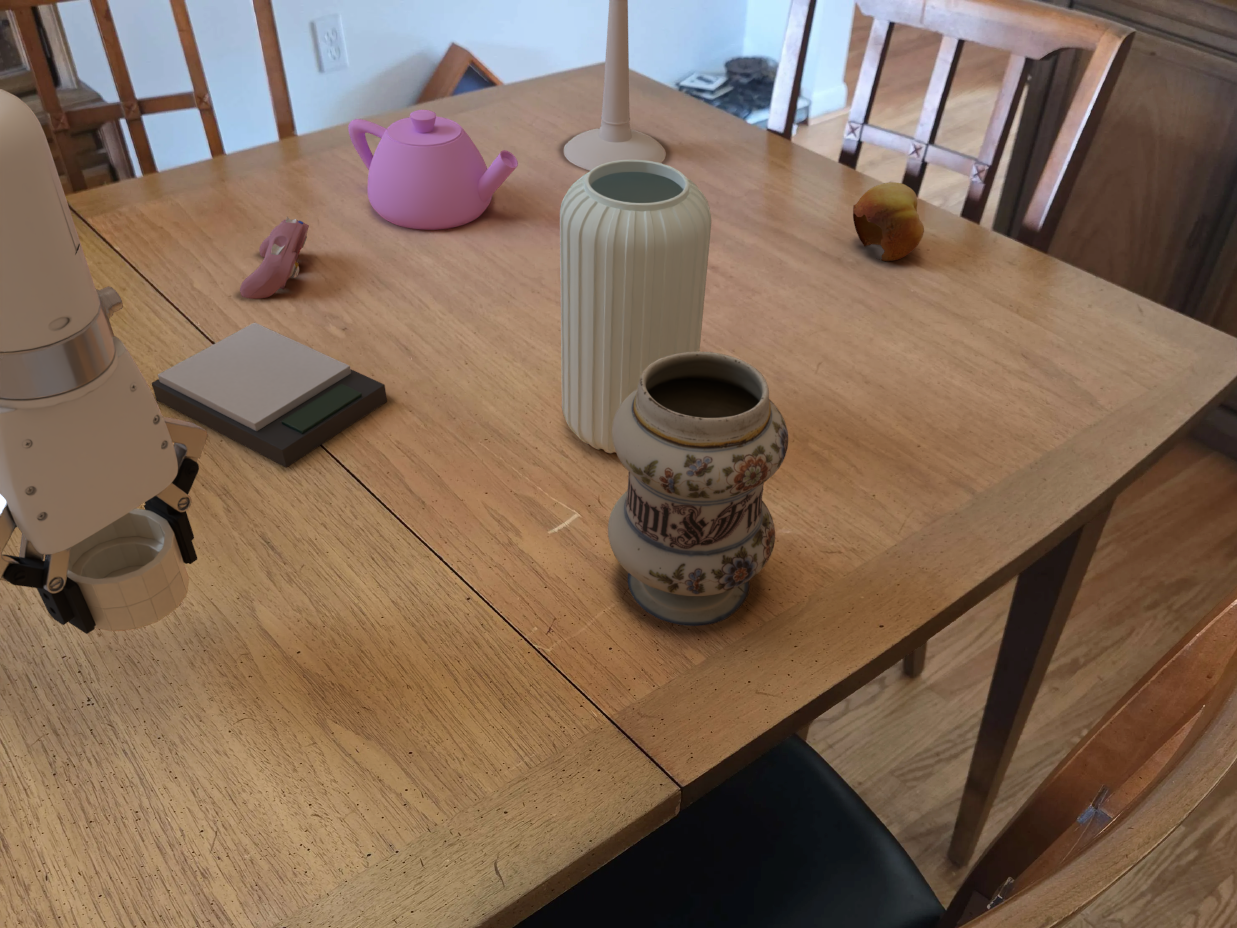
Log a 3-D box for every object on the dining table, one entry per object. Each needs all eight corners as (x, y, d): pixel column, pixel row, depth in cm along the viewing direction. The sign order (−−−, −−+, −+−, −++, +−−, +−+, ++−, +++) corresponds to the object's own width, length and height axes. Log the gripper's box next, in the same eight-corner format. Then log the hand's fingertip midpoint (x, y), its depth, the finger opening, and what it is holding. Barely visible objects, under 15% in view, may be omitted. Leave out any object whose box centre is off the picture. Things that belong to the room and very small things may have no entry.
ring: (50, 604, 70) (25, 551, 67) (141, 546, 75) (122, 493, 71) (123, 653, 68) (101, 601, 65) (213, 590, 72) (197, 537, 69)
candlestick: (557, 138, 140) (553, -145, 119) (655, 134, 142) (669, -144, 121) (571, 181, 132) (570, -116, 110) (675, 177, 134) (694, -115, 112)
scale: (158, 406, 97) (148, 374, 94) (262, 348, 104) (255, 317, 101) (287, 473, 91) (280, 441, 88) (388, 407, 98) (383, 376, 96)
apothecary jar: (713, 519, 89) (736, 319, 76) (796, 613, 82) (837, 410, 69) (579, 563, 85) (579, 358, 72) (654, 666, 77) (669, 460, 64)
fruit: (897, 282, 118) (914, 209, 112) (830, 257, 121) (843, 185, 115) (929, 256, 122) (947, 185, 116) (864, 233, 125) (878, 163, 120)
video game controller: (281, 319, 110) (301, 262, 106) (235, 299, 109) (254, 240, 104) (301, 271, 117) (321, 216, 113) (258, 252, 115) (277, 194, 111)
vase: (716, 448, 96) (744, 198, 80) (600, 485, 91) (605, 229, 75) (650, 381, 102) (664, 139, 86) (539, 413, 98) (532, 164, 82)
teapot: (495, 254, 118) (489, 154, 111) (329, 220, 122) (313, 122, 114) (543, 202, 127) (541, 106, 120) (388, 172, 131) (376, 78, 124)
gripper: (125, 260, 64) (196, 496, 77) (-170, 393, 54) (-31, 640, 67) (213, 302, 62) (272, 539, 75) (-79, 451, 51) (48, 696, 64)
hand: (128, 585), depth 71 cm, fingers closed on ring, 7 cm apart
